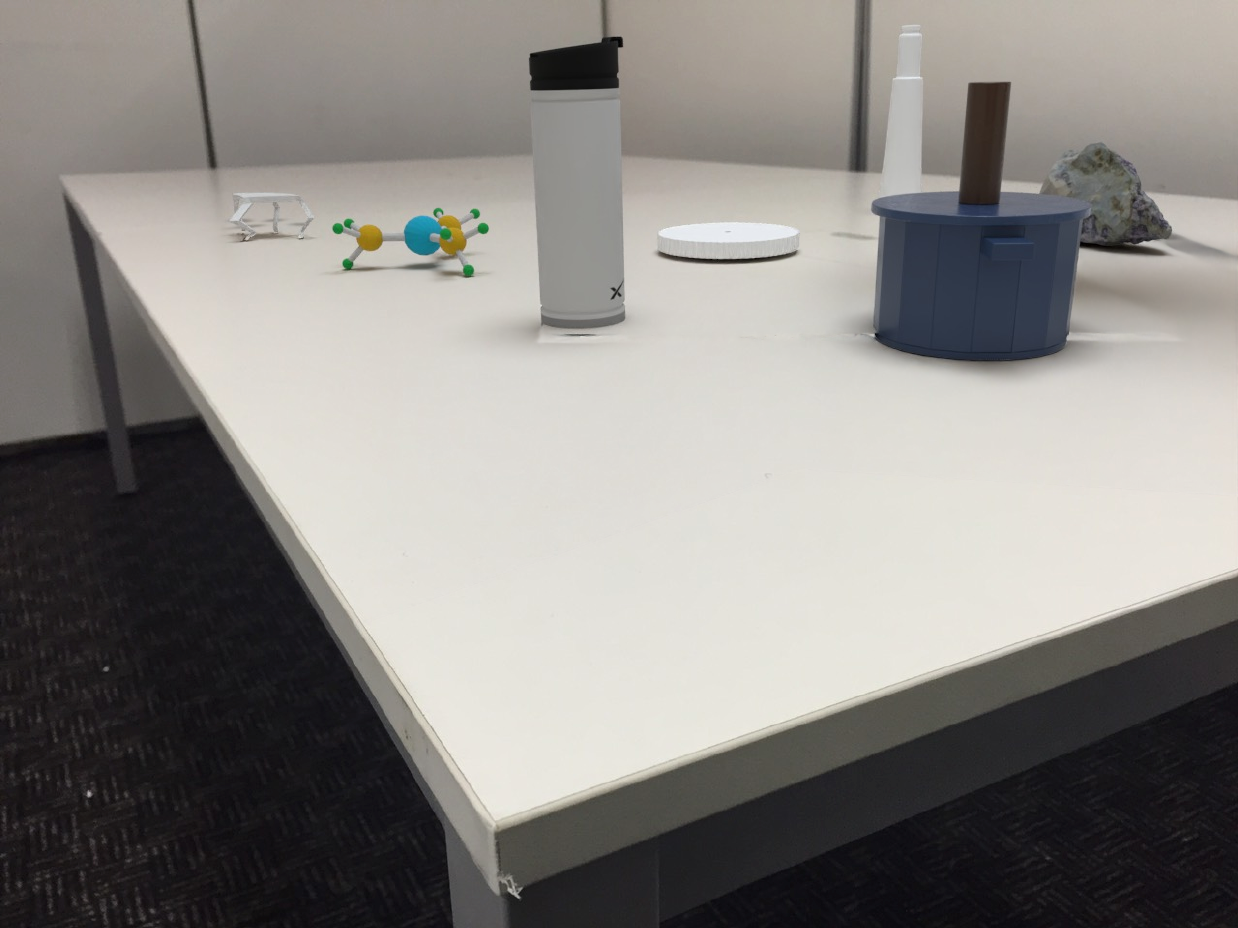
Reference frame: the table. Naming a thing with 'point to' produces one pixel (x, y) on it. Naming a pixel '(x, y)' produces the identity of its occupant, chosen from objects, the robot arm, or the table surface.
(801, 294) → the table surface
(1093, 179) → the mineral rock
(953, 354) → the tin
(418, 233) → the molecular model
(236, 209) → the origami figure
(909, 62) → the cosmetic bottle
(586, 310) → the travel mug
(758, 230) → the plastic lid
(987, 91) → the tin lid
